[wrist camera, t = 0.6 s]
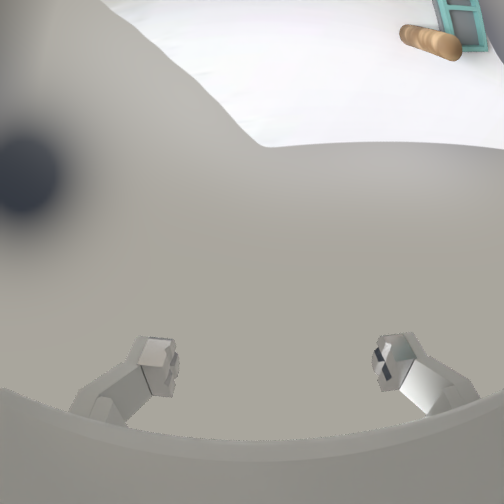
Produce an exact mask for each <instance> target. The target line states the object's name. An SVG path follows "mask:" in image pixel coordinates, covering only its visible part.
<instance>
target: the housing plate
mask: <svg viewBox="0 0 504 504" xmlns="http://www.w3.org/2000/svg"><path fill="white" fill-rule="evenodd" d="M432 2H433V5H434V9H435V12H436V16H437V20H438V24H439V28H440V31H441V32H445V33H448V34H452V35H454V36H456V37H457V38H458V39H459V41H460V42H461V45H462V52H488V46H487V40H486V34H485V28H484V23H483V18H482V14H481V9H480V5H479V1H478V0H432Z"/></svg>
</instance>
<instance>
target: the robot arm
mask: <svg viewBox="0 0 504 504" xmlns="http://www.w3.org/2000/svg"><path fill="white" fill-rule="evenodd" d="M377 345H378V348H377V349H376V350H374V353H373V356H372V367H373V370H374V372H375V373H376V374H377V375H379V377H378V380H377V381H378V383H379V386H380V388H381V391H382V392H384V391H391V390H397V389H400V391H401V392H402V393H403V394H404V395H406V396H407V397H408V398H409V399H410V400H411V401H412V402H413V403H414V404H416V405H417V406H418V407H419V408H420V409H421V410H422V411H423V412H425V413H426V416H425V417H424V418H422V419H419V420H415V421H411V422H407V423H403V424H399V425H394V426H390V427H385V428H380V429H375V430H371V431H364V432H358V433H352V434H345V435H338V436H330V437H321V438H310V439H296V440H274V441H240V440H238V441H237V440H216V439H203V438H192V437H183V436H174V435H167V434H160V433H154V432H148V431H142V430H137V429H132V428H128V426H127V424H126V423H125V422H126V421H127V420H128V419H129V418H130V417H131V416H132V415H133V414H135V413H136V412H137V411H138V410H139V409H140V408H141V407H142V406H143V405H144V404H145V403H146V402H147V401H148V400H149V399H150V398H151V397H152V395H153V396H162V397H173V393H174V389H175V381H174V379H175V378H176V377H177V376H178V373H179V356H178V354H177V353H176V352H175V349H176V343H175V340H174V339H168V338H158V337H146V336H137V337H136V339H135V341H134V343H133V345H132V347H131V349H130V351H129V354H128V356H127V358H126V360H125V362H124V363H120V364H118V365H117V366H115V367H114V368H112V369H111V370H109V371H108V372H106V373H104V374H103V375H101V376H100V377H98V378H97V379H95V380H94V381H92V382H91V383H89V384H88V385H86V386H84V387H83V388H81V389H80V390H79V391H78V393H77V395H76V397H75V399H74V401H73V403H72V405H71V407H70V409H69V411H68V412H66V411H63V410H60V409H57V408H54V407H51V406H49V405H46V404H43V403H40V402H38V401H35V400H33V399H30V398H28V397H25V396H23V395H20V394H18V393H16V392H14V391H12V390H9V389H7V388H0V504H504V389H502V390H500V391H497V392H495V393H493V394H491V395H488V396H486V397H484V398H480V397H479V395H478V393H477V391H476V390H475V388H474V386H473V384H472V383H471V381H470V380H469V379H468V378H466V377H464V376H463V375H461V374H459V373H458V372H456V371H454V370H453V369H451V368H449V367H448V366H446V365H444V364H443V363H441V362H439V361H438V360H436V359H434V358H433V357H431V356H429V357H428V356H427V354H426V352H425V351H424V349H423V348H422V346H421V344H420V343H419V341H418V339H417V338H416V336H415V334H414V333H413V332H406V333H401V334H392V335H383V336H380V337H379V338H378V341H377Z"/></svg>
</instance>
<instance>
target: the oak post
mask: <svg viewBox="0 0 504 504" xmlns="http://www.w3.org/2000/svg"><path fill="white" fill-rule="evenodd" d="M399 35H400V38H401V40H402V41H403V42H404V43H405V44H406V45H409V46H412V47H415V48H418V49H421V50H424V51H426V52H429V53H432V54H434V55H437V56H440V57H442V58H445V59H447V60H449V61H456V60H458V59H459V58H460V57H461V55H462V45H461V42H460V41H459V39H458V38H457V37H456V36H454V35H452V34H448V33H445V32H441V31H437V30H433V29H428V28H424V27H419V26H414V25H404V26H402V27H401V29H400V32H399Z"/></svg>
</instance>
